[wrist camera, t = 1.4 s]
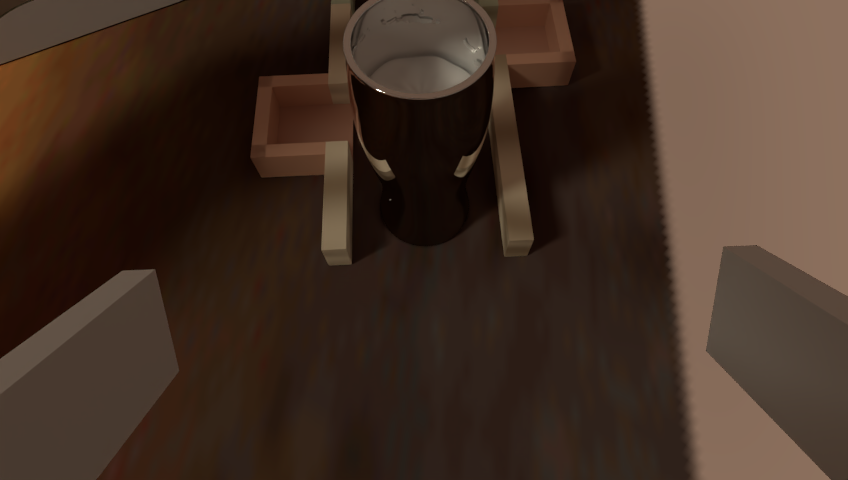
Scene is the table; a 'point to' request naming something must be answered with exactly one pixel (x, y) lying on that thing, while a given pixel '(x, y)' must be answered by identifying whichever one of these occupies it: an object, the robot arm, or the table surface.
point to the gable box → (61, 21)
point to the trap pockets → (324, 121)
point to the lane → (501, 139)
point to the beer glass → (421, 107)
